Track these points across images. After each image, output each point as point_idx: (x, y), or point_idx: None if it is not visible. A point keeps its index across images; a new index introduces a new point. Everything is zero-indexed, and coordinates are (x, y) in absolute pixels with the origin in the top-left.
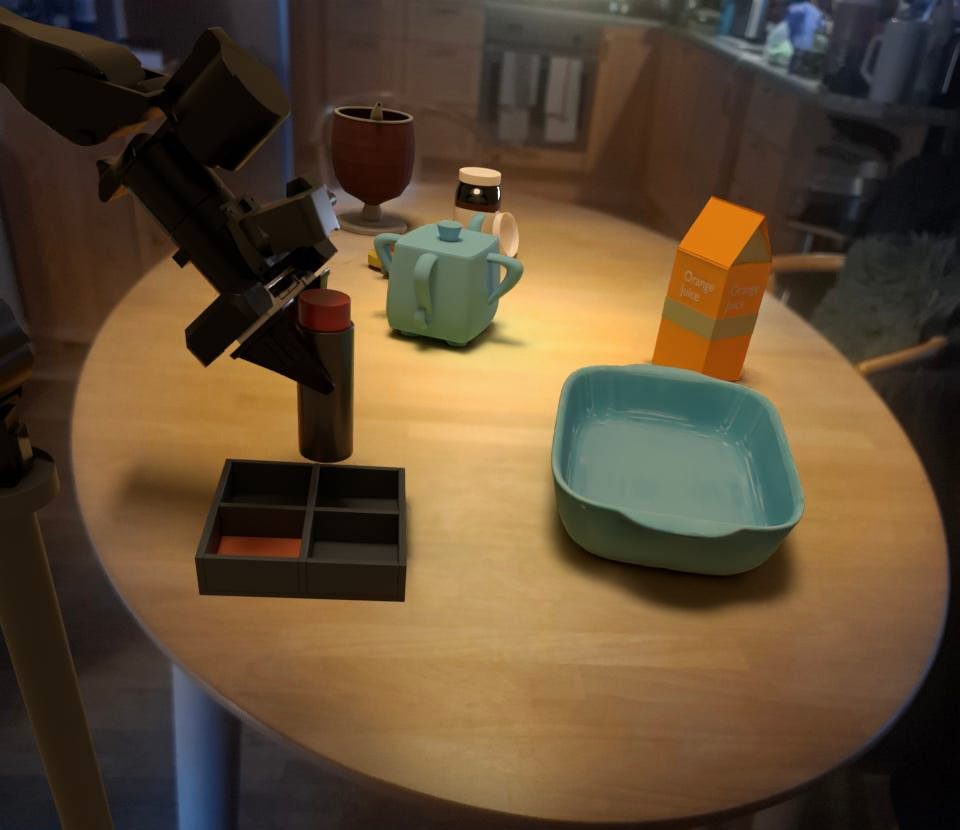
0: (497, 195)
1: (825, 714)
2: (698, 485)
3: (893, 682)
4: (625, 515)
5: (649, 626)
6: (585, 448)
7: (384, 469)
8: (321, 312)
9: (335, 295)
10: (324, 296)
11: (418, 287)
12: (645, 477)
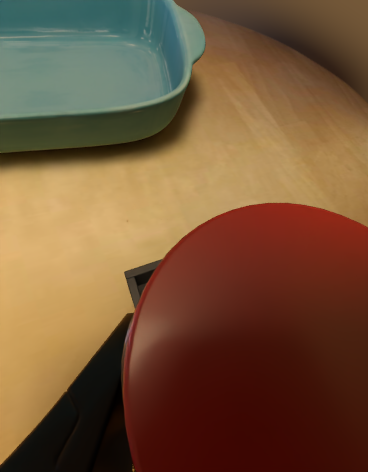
0: None
1: (249, 40)
2: (28, 69)
3: (209, 19)
4: (196, 59)
5: (221, 98)
6: None
7: (138, 292)
8: None
9: (244, 305)
10: (313, 367)
11: None
12: (22, 99)
